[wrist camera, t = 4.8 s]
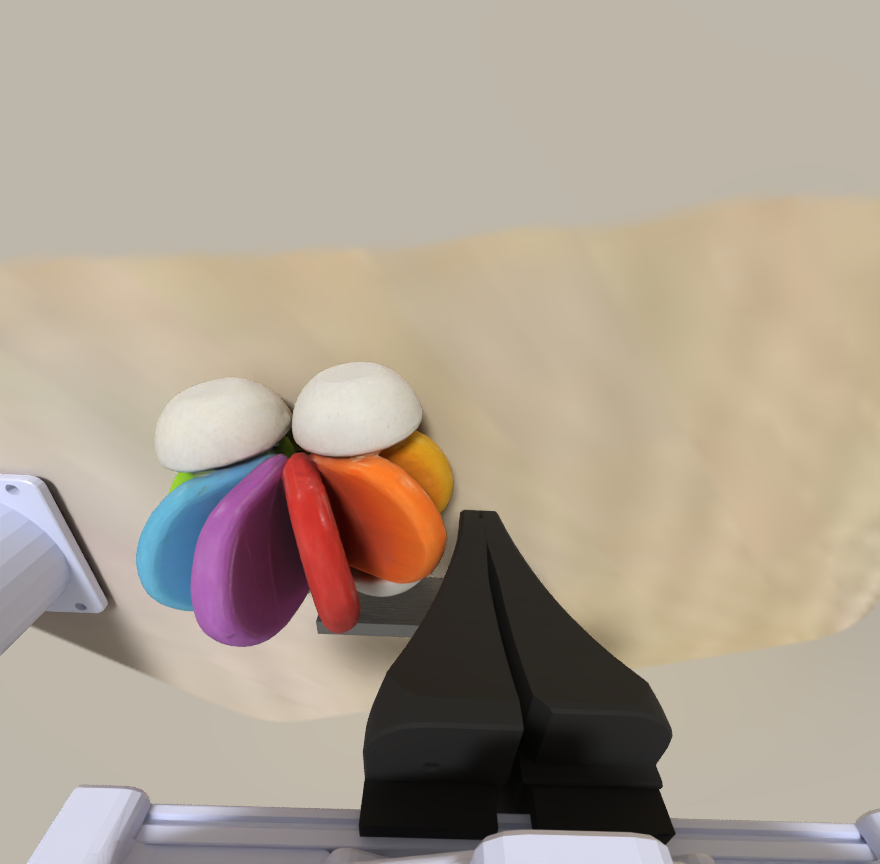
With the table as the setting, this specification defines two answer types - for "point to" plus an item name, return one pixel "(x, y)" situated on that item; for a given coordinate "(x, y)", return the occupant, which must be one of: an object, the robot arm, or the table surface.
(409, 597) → the rail
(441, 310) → the table surface
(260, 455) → the rainbow disc baby rattle
